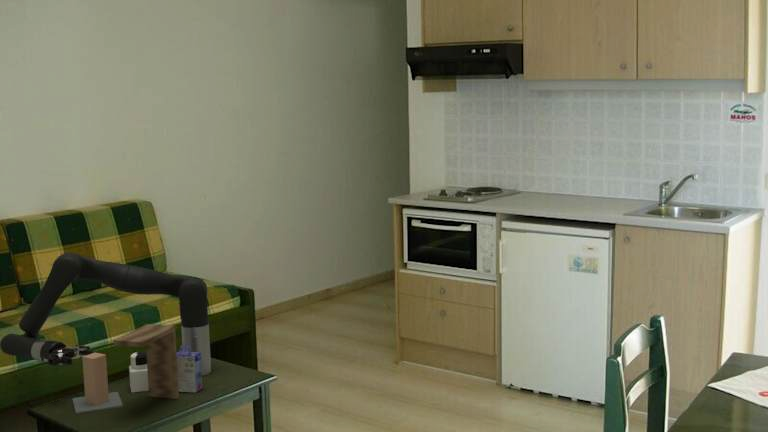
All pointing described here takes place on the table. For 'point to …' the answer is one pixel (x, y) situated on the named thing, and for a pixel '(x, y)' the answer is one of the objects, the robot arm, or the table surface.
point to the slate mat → (85, 407)
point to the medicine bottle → (138, 372)
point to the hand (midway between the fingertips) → (82, 358)
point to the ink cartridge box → (189, 370)
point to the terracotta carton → (95, 378)
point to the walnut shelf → (157, 357)
